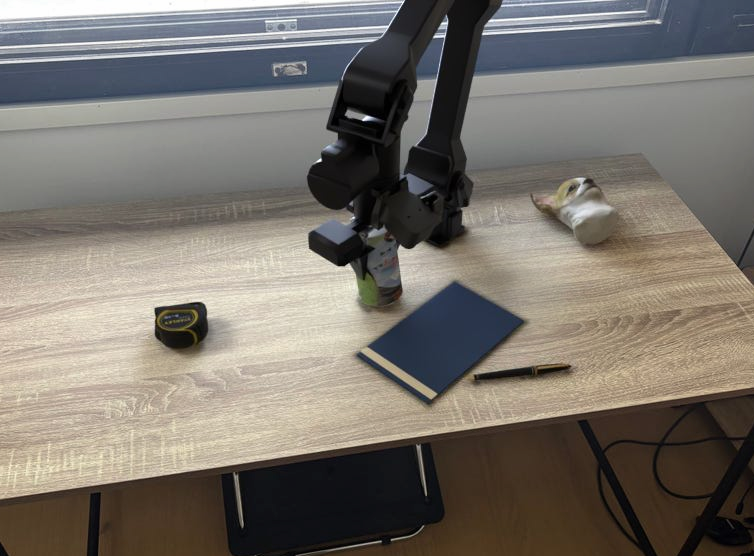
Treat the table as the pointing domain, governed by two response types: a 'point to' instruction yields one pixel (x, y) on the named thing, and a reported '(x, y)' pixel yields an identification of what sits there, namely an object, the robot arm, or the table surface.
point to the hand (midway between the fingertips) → (375, 270)
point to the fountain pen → (521, 372)
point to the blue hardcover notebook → (440, 341)
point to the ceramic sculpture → (580, 209)
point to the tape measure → (181, 324)
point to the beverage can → (381, 271)
